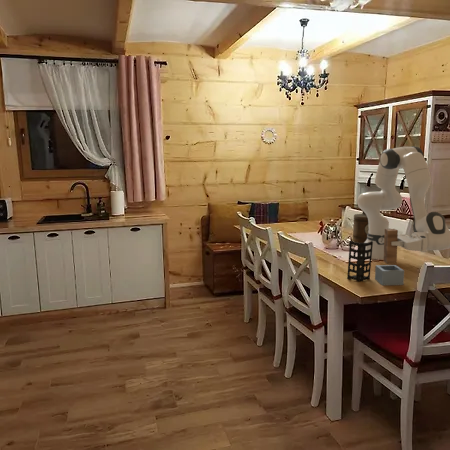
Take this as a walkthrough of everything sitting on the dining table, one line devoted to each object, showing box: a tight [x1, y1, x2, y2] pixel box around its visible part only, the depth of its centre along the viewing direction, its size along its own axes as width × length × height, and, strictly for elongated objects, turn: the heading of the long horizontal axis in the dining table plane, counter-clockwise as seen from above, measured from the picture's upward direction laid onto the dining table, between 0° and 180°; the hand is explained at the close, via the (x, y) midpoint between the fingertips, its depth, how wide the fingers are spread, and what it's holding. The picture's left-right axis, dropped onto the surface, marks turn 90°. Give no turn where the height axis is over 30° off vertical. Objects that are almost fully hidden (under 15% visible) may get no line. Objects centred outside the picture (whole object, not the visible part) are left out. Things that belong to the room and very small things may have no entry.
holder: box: [346, 240, 373, 282], centre depth 206 cm, size 11×8×20 cm
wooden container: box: [352, 210, 369, 243], centre depth 292 cm, size 15×15×22 cm
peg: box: [383, 228, 399, 265], centre depth 200 cm, size 4×4×16 cm
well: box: [374, 264, 405, 286], centre depth 202 cm, size 10×10×7 cm
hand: (388, 242), depth 200 cm, fingers closed on peg, 4 cm apart
